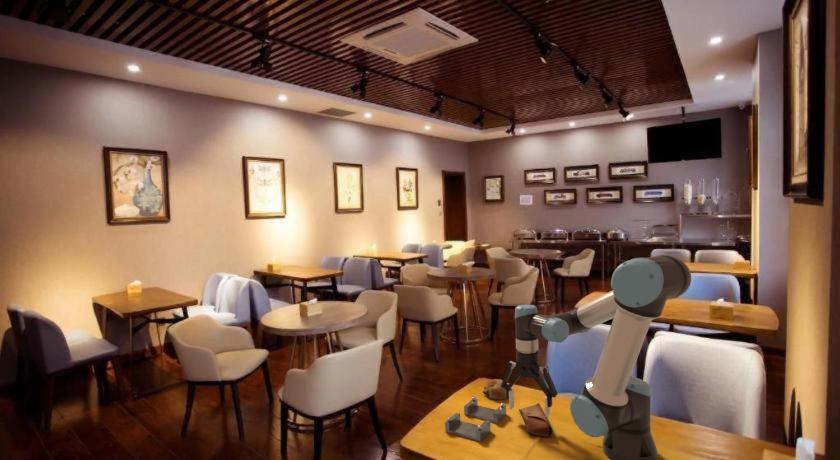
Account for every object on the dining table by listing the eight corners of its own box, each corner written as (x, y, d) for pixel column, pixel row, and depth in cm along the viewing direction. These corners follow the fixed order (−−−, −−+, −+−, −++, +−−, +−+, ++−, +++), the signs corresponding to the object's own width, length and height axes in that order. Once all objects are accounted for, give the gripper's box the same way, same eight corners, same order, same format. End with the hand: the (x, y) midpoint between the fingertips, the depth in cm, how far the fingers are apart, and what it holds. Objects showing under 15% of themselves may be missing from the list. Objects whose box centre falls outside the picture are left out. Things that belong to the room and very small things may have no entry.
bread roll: (504, 410, 171) (513, 392, 170) (480, 396, 173) (489, 379, 172) (504, 399, 181) (513, 383, 180) (481, 387, 182) (490, 370, 181)
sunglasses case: (516, 408, 162) (528, 394, 162) (532, 420, 162) (543, 405, 162) (526, 432, 144) (539, 416, 144) (543, 445, 144) (556, 429, 144)
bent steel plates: (506, 414, 161) (505, 402, 161) (480, 441, 142) (479, 428, 142) (474, 407, 168) (473, 395, 168) (445, 432, 149) (444, 419, 149)
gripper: (565, 351, 148) (567, 414, 149) (498, 342, 162) (500, 400, 162) (559, 358, 142) (561, 424, 143) (490, 348, 155) (492, 408, 156)
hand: (529, 411), depth 153 cm, fingers open, 12 cm apart
